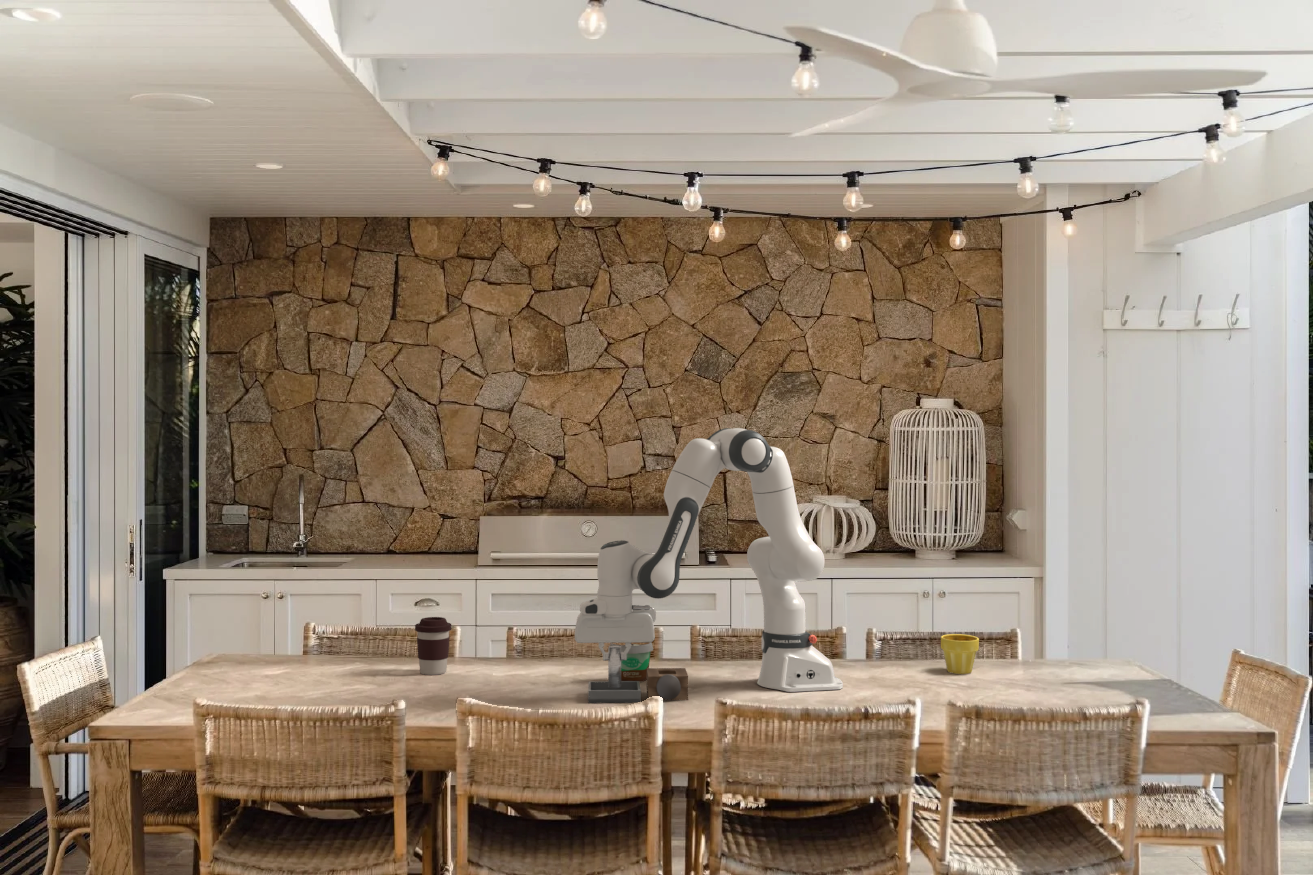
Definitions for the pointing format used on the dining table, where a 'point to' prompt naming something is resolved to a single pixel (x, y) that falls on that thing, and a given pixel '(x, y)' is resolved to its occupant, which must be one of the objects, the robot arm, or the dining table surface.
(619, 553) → the robot arm
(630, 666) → the food container
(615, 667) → the lock pin
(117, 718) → the dining table surface
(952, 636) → the plant pot
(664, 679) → the block
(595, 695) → the tray
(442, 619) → the coffee cup
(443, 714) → the dining table surface
